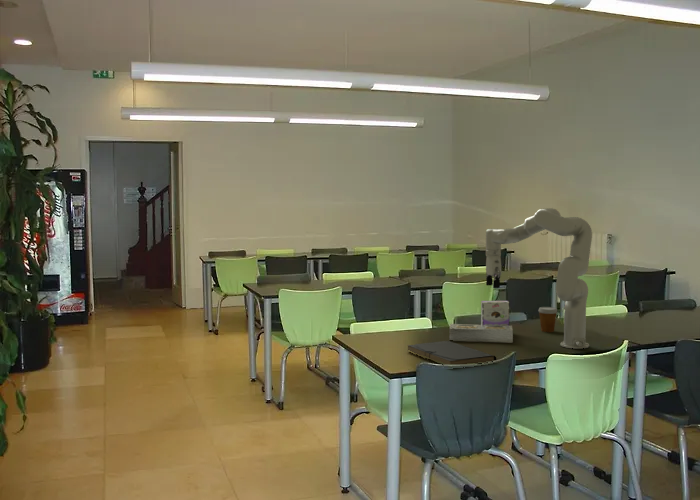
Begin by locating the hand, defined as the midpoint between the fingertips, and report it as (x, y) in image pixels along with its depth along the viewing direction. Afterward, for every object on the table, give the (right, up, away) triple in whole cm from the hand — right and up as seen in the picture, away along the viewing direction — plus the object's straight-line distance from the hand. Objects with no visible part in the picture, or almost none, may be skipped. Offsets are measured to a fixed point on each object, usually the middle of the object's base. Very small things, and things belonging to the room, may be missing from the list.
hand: (492, 286), depth 341 cm
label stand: (-8, -25, -12) cm, 29 cm away
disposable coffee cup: (+29, -24, +6) cm, 38 cm away
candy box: (+2, -24, +3) cm, 24 cm away
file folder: (-29, -29, -47) cm, 62 cm away
